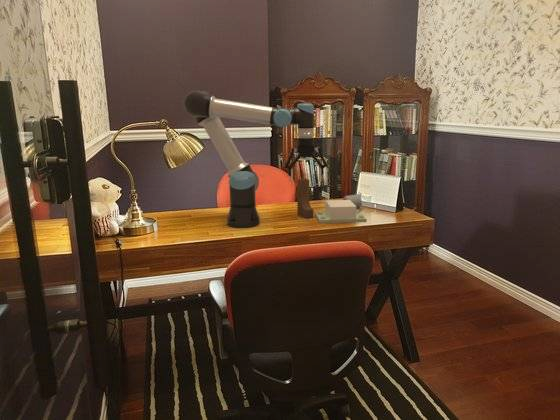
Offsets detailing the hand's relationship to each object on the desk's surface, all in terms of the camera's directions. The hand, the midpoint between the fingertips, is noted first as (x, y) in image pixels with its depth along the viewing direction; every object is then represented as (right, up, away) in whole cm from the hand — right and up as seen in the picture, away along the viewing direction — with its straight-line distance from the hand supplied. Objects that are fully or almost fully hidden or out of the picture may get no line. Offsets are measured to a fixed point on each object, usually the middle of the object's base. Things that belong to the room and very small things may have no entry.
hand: (306, 182), depth 213 cm
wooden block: (0, -17, +4) cm, 17 cm away
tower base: (+16, -17, -1) cm, 24 cm away
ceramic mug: (+25, -14, +16) cm, 33 cm away
